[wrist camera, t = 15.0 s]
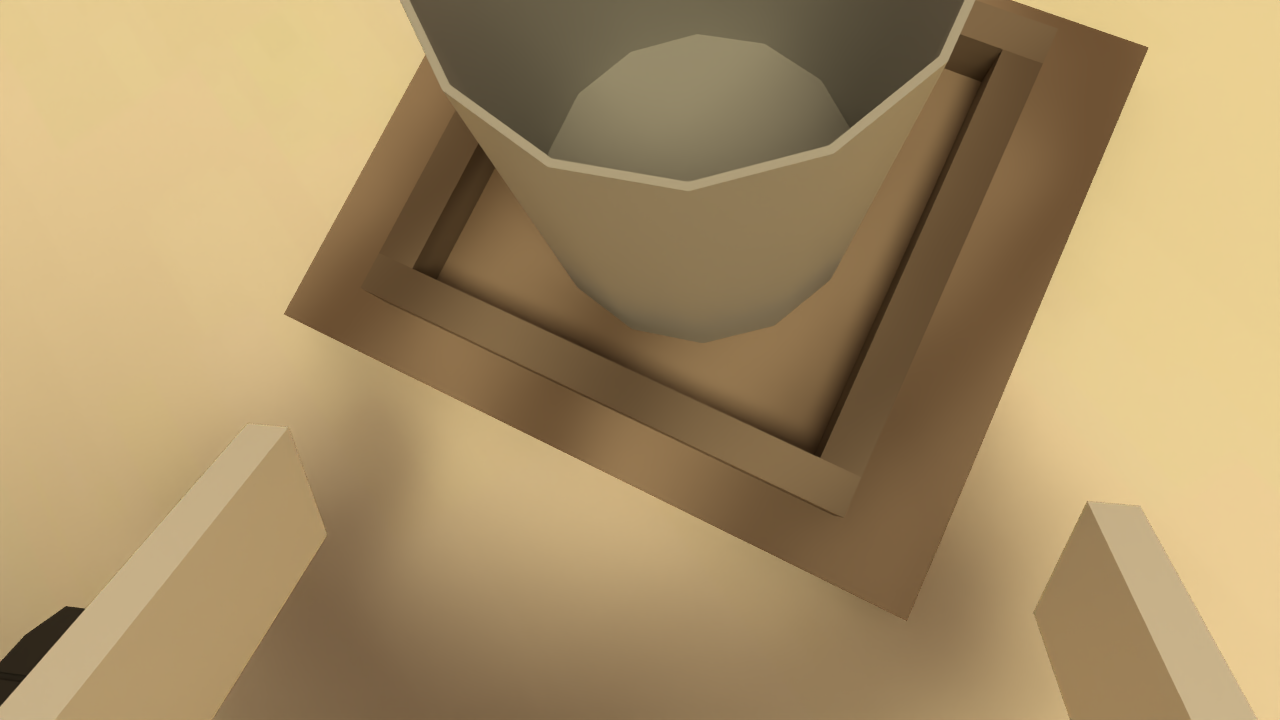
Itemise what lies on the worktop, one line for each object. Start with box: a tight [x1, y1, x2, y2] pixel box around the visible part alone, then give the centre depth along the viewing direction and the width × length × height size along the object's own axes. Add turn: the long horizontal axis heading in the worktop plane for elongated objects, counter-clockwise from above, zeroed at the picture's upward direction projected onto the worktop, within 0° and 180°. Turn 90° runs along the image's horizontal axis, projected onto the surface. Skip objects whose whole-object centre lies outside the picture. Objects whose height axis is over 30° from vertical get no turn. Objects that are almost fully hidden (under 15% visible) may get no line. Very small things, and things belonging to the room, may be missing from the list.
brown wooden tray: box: [284, 0, 1148, 621], centre depth 20 cm, size 18×16×3 cm
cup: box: [400, 0, 975, 343], centre depth 15 cm, size 8×8×10 cm
